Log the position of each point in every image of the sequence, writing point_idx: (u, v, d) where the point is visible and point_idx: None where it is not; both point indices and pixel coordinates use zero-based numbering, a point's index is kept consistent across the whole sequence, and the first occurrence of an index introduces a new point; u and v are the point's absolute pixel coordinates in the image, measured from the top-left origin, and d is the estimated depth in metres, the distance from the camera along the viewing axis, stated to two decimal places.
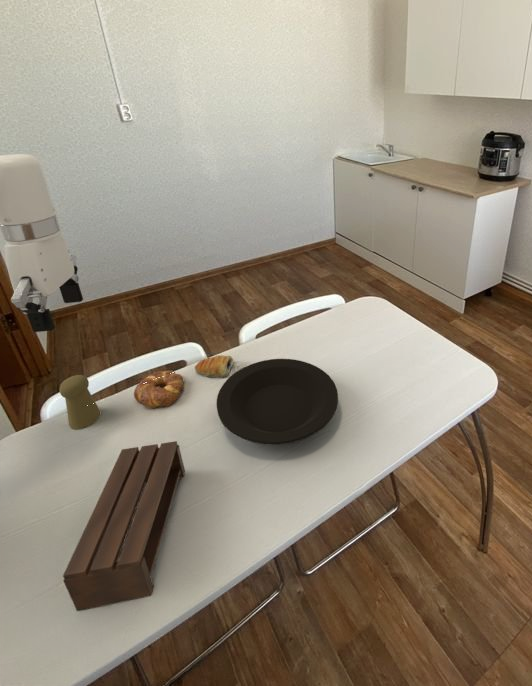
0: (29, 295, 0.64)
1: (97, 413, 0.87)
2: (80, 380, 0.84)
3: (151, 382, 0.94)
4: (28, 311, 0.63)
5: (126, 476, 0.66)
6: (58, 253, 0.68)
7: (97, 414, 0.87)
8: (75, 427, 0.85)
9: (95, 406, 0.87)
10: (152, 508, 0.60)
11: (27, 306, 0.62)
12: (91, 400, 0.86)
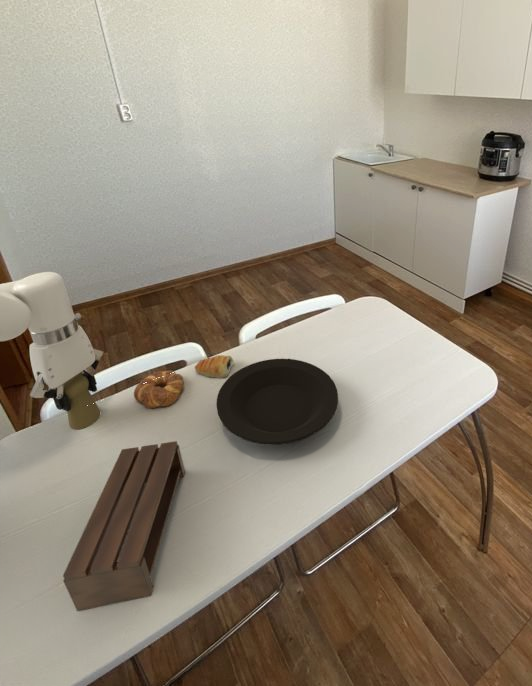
0: None
1: (97, 413, 0.87)
2: (80, 380, 0.84)
3: (151, 382, 0.94)
4: None
5: (126, 476, 0.66)
6: (73, 351, 0.81)
7: (97, 414, 0.87)
8: (75, 427, 0.85)
9: (95, 406, 0.87)
10: (152, 508, 0.60)
11: (44, 395, 0.78)
12: (91, 400, 0.86)
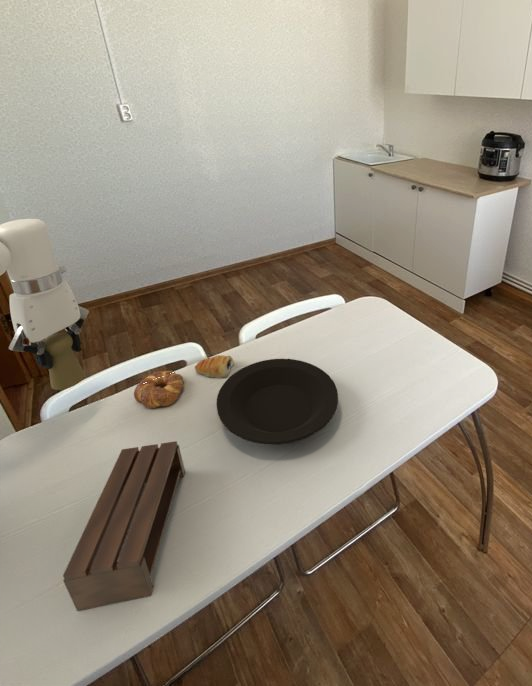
0: None
1: (81, 374, 0.83)
2: (63, 337, 0.80)
3: (151, 382, 0.94)
4: None
5: (126, 476, 0.66)
6: (56, 304, 0.77)
7: (81, 375, 0.83)
8: (57, 387, 0.80)
9: (79, 367, 0.83)
10: (152, 508, 0.60)
11: (24, 349, 0.74)
12: (75, 360, 0.82)
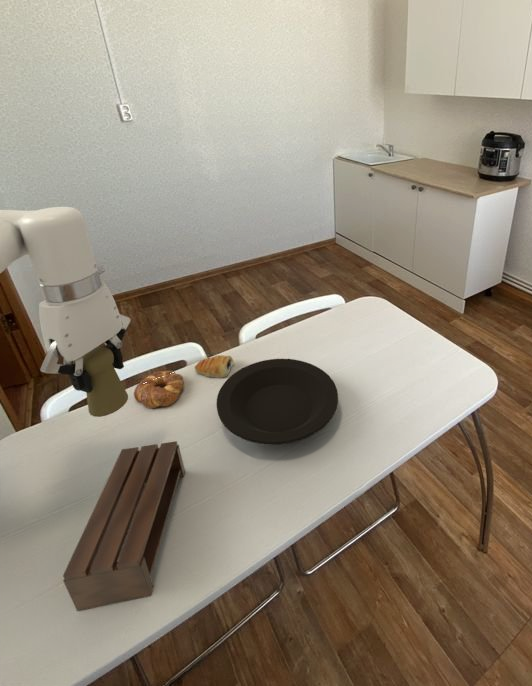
0: None
1: (124, 396, 0.68)
2: (104, 353, 0.65)
3: (151, 382, 0.94)
4: None
5: (126, 476, 0.66)
6: (95, 313, 0.62)
7: (124, 397, 0.68)
8: (97, 414, 0.66)
9: (122, 387, 0.68)
10: (152, 508, 0.60)
11: (59, 370, 0.59)
12: (117, 379, 0.67)
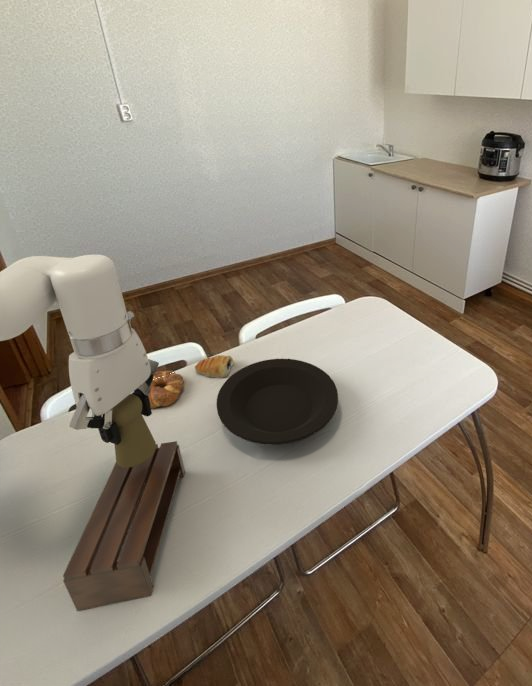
0: None
1: (152, 444, 0.66)
2: (133, 402, 0.62)
3: None
4: None
5: (126, 476, 0.66)
6: (125, 363, 0.59)
7: (152, 446, 0.66)
8: (125, 465, 0.63)
9: (150, 435, 0.66)
10: (152, 508, 0.60)
11: (89, 425, 0.57)
12: (145, 428, 0.65)
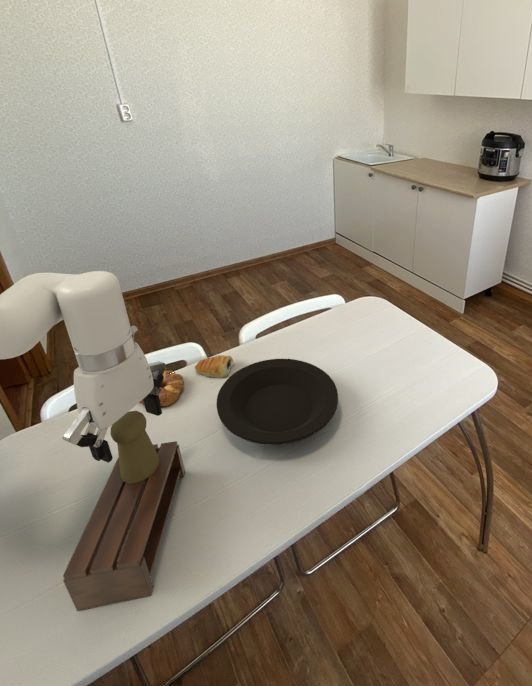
0: (92, 423, 0.58)
1: (156, 460, 0.67)
2: (137, 419, 0.64)
3: None
4: None
5: None
6: (129, 378, 0.60)
7: (156, 461, 0.67)
8: (130, 480, 0.64)
9: (153, 451, 0.67)
10: (152, 508, 0.60)
11: (79, 444, 0.56)
12: (149, 444, 0.66)
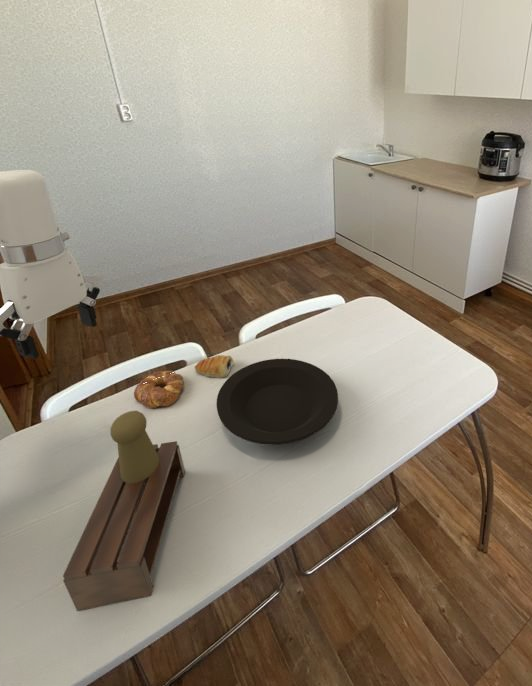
0: (18, 318, 0.61)
1: (156, 460, 0.67)
2: (137, 419, 0.64)
3: (151, 382, 0.94)
4: None
5: None
6: (56, 278, 0.62)
7: (156, 461, 0.67)
8: (130, 480, 0.64)
9: (153, 451, 0.67)
10: (152, 508, 0.60)
11: (1, 333, 0.58)
12: (149, 444, 0.66)
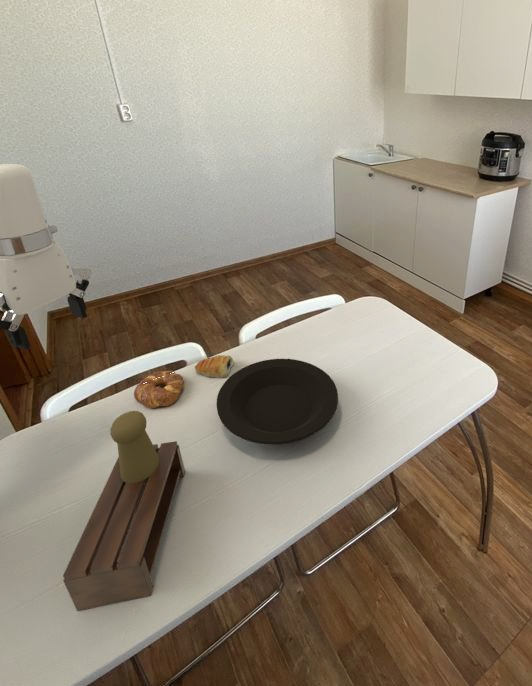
0: (9, 310, 0.62)
1: (156, 460, 0.67)
2: (137, 419, 0.64)
3: (151, 382, 0.94)
4: None
5: None
6: (46, 270, 0.64)
7: (156, 461, 0.67)
8: (130, 480, 0.64)
9: (153, 451, 0.67)
10: (152, 508, 0.60)
11: None
12: (149, 444, 0.66)
